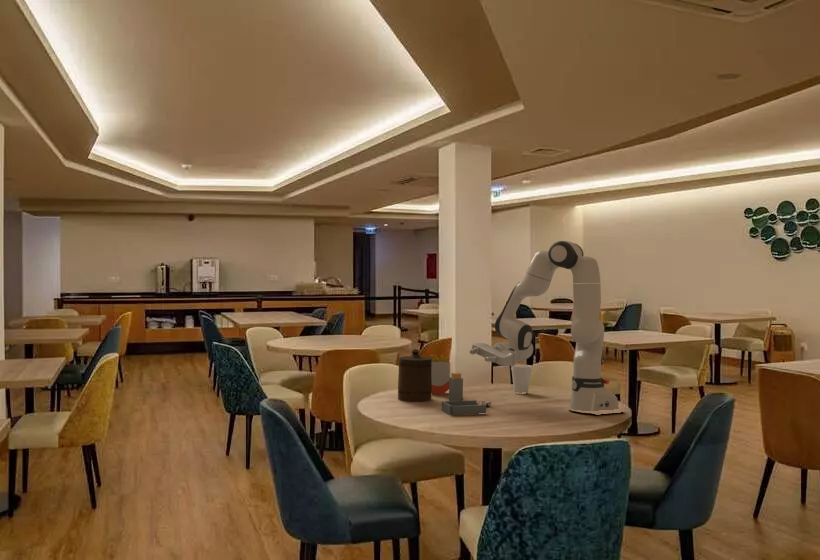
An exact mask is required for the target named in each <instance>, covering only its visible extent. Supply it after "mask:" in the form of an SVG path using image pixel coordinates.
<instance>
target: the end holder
mask: <svg viewBox="0 0 820 560" xmlns="http://www.w3.org/2000/svg"><path fill="white" fill-rule="evenodd" d="M477 403H478V401H477V400H476V399H473V400H463V401H449V400H445V401H444V400H443V401H441V411H442V412H444V413H445V412H446V413H445V414H447V415H448V416H450V415H456V416H467V415H466V414H479V413H486V414H487V407H486V405H482V404H479V405H477Z"/></svg>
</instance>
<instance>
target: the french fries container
mask: <svg viewBox="0 0 820 560" xmlns="http://www.w3.org/2000/svg"><path fill="white" fill-rule="evenodd" d="M429 358H431V359H432V363H431V364H432V365H431V378H432V390H431V393H436V394H435V395H444V394H445V393H446V392H447V391H449V377H451V362H450V356H446V357H444V355H443V354H441V355H440V358H439V357H438V355H437V354H435V355H434V354H430V355H429Z"/></svg>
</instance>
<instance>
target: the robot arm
mask: <svg viewBox="0 0 820 560" xmlns="http://www.w3.org/2000/svg"><path fill="white" fill-rule="evenodd" d="M528 265H529V266H528V267H527V271H526V273H525V275H524V277H523V278H522V279H521V281H518V282H517V283H516V285H514V286H513V287H514V288H512V291H511V293H510V294H509V296H508V299H507V300H506V302H505V305H504V306H503V309H502V311H501V312H500V314H499V315H498V317H497V318H496V320H495V321H494V330H495V332H496V334H497V335H498V336H501V337H502V338H506V339H508V340H507V341H505V342H504V341H503V342H497V343H495V344H494V345H493V346H492V345H490V344H489V343H485V342H477V343H475V342H474V343H473V344H472V345H471V349H470V350H469V354H471V355H475V354H476V355H478V356H481V357H482V358H484V361H485V362H487V363H489V362H491V363H494V364H497V365H499V366H501V367H502V366H503V367H511V366H515V365H516V362H520V361H524V360H528V359H529V358H530V357H532V355H533V352H534V345H533V344H532V342H533V337H534V330H533V327H532V326H531V325H530V324H527V323H526V322H524V321H523V320H520V319H518V318H516V317H515V316H516V313H517V311H518V309H519V307H520V306H521V305H520V304H521V303H522V301H523V300H524V299H525V298H528V297H540V296H542V295H544V294H545V293H546V292H547V291H548V290H549V288H550V285H551V283H552V279H553V277H554V274H555V272H556V270H557V269H558V268H562V269H566V270H570V271H571V274H572V297H573V300H572V301H573V305H572V315H571V328H570V334H571V337H572V339H573V340H574V341H575V349H574V355H573V365H572V367H573V370H572V372H573V374H572V377H571V389H572V390H571V398H570V404H569V407H568V409H569V408H571V409H574V410H581V411H599V410H614V409H619V408H620V406H619V401H618V397H617V396H616V395H615V394H613V393H612V392H611V390H610V389H608V388H606V387H605V385H610V380H609V379H607V378H602V357H603V356H602V355H603V354H602V353H603V349H604V348H603V347H604V340H605V339H604V338H605V337H604V336H605V326H604V323H603V322H602V320H601V319H600V314H601V303H602V295H601V294H602V292H601V290H602V289H601V284H602V283H601V274H600V273H601V272H600V268H599V264H598V261H597V260H596V258H594V257H591V256H585V255H584V250H583V248H582V247H581V246H580V245H579V244H577V243H575V242H572V241H568V240H559V241H556V242H554V243H552V245H550V247H549V249H548V251H547V250H539V251H538V250H537V251H536V252H535V253H534V255H533V257H532V259H531V260H530V263H529V264H528Z"/></svg>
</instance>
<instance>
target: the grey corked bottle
mask: <svg viewBox="0 0 820 560" xmlns="http://www.w3.org/2000/svg"><path fill="white" fill-rule="evenodd" d="M461 373H462V372H461ZM461 373H460V372H450V377H449V390H448V401H464V400H463V396H464V392H463V391H464V378H462V374H461Z"/></svg>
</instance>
